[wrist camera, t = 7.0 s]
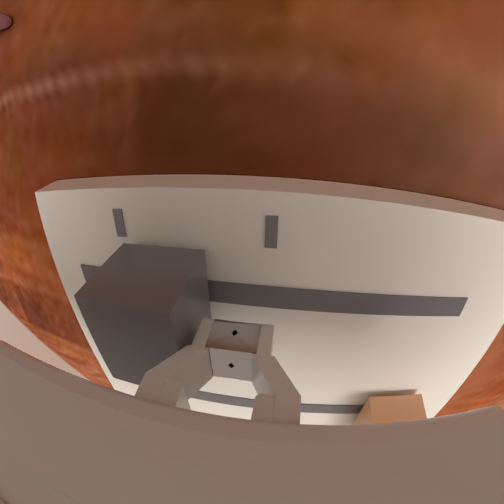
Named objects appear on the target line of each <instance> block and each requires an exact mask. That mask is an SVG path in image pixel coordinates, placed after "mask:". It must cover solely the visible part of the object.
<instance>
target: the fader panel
mask: <svg viewBox="0 0 504 504" xmlns="http://www.w3.org/2000/svg"><path fill="white" fill-rule="evenodd" d="M35 196H36V200H37V205H38V209H39V213H40V216H41V220H42V224H43V227H44V231H45V234H46V238H47V241H48V244H49V247H50V250H51V253H52V256H53V259H54V262H55V265H56V268H57V271H58V274H59V276H60V279H61V282H62V284H63V287H64V289H65V292H66V294H67V297H68V299H69V301H70V304H71V306H72V308H73V311H74V313H75V315H76V317H77V320H78V322H79V324H80V326H81V328H82V330H83V332H84V334H85V336H86V338H87V340H88V342H89V344H90V346H91V348H92V350H93V352H94V354H95V356H96V358H97V360H98V361H99V363H100V365H101V367H102V369H103V370H104V372H105V374H106V376H107V377H108V379H109V381H110V382H111V384H112V386H113V387H114V389H115V390H117V391H120V392H123V393H126V394H130V395H133V396H134V395H135V393H136V391H137V389H138V387H139V385H136V384H133V383H129V382H126V381H123V380H119V379H116V378H113V376H112V374H111V373H110V371H109V369H108V367H107V365H106V364H105V362H104V360H103V358H102V356H101V354H100V352H99V350H98V348H97V346H96V344H95V342H94V340H93V338H92V336H91V334H90V332H89V329H88V327H87V325H86V323H85V321H84V318H83V316H82V314H81V312H80V309H79V307H78V304H77V302H76V300H75V297H74V295H75V294H76V293H77V292H78V290H79V289H80V288H81V287H82V286H83V285H84V284H85V283H86V282H87V280H88V279H89V278H90V277H91V276H92V275H93V274H94V273H95V272H96V271H97V270H98V269H99V268H100V267H101V266H102V264H103V263H104V262H105V261H106V260H107V259H108V258H109V257H110V256H111V255H112V254H113V253H114V252H115V251H116V250H117V249H118V248H119V247H120V246H121V245H122V244H123V243H128V244H140V245H152V246H164V247H176V248H188V249H200V250H205V258H206V269H207V280H208V290H209V300H210V309H211V318H212V319H221V320H228V321H235V322H246V323H257V324H269V325H274V338H273V350H272V356H275V358H276V359H277V361H278V362H279V364H280V365H281V367H282V368H283V370H284V371H285V373H286V374H287V376H288V377H289V379H290V380H291V382H292V383H293V385H294V386H295V388H296V389H297V391H298V392H299V394H300V395H301V413H300V424H312V425H352V424H353V422H354V421H355V419H356V418H357V416H358V415H359V413H360V411H361V410H362V408H363V407H364V405H365V403H366V402H367V400H368V398H369V397H380V396H400V395H414V394H422V398H423V403H424V407H425V412H426V416H427V418H433V417H434V416H435V415H436V414H437V413H438V412H439V411H440V409H441V408H442V407H443V406H444V405H445V404H446V403H447V401H448V400H449V399H450V398H451V397H452V396H453V394H454V393H455V392H456V391H457V390H458V388H459V387H460V386H461V385H462V383H463V382H464V381H465V380H466V378H467V377H468V376H469V374H470V373H471V372H472V370H473V369H474V368H475V366H476V365H477V363H478V362H479V361H480V359H481V358H482V356H483V355H484V353H485V352H486V350H487V349H488V347H489V346H490V344H491V343H492V341H493V340H494V338H495V337H496V335H497V333H498V332H499V330H500V328H501V327H502V325H503V323H504V210H500V209H496V208H492V207H487V206H483V205H479V204H474V203H469V202H464V201H459V200H454V199H449V198H444V197H438V196H433V195H427V194H421V193H415V192H409V191H402V190H396V189H389V188H381V187H374V186H366V185H358V184H349V183H339V182H330V181H319V180H307V179H295V178H280V177H263V176H241V175H200V174H168V175H128V176H107V177H91V178H77V179H65V180H56V181H54V182H52V183H51V184H49V185H47V186H45V187H43V188H41V189H39V190H38V191H36V192H35ZM256 395H258V394H257V392H256V390H255V388H254V386H253V384H252V381H245V380H238V379H232V378H223V377H215V376H213V378H212V379H211V380H209V381H208V382H207V383H206V384H205V385H204V386H203V387H202V388H201V389H200V390H199V391H197V392H196V393H195V394H194V395H193V396H192V398H190V399H189V400H188V402H189V405H190V408H191V410H193V411H198V412H203V413H209V414H215V415H221V416H227V417H234V418H241V419H248V420H251V416H252V411H253V406H254V400H255V396H256Z"/></svg>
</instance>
